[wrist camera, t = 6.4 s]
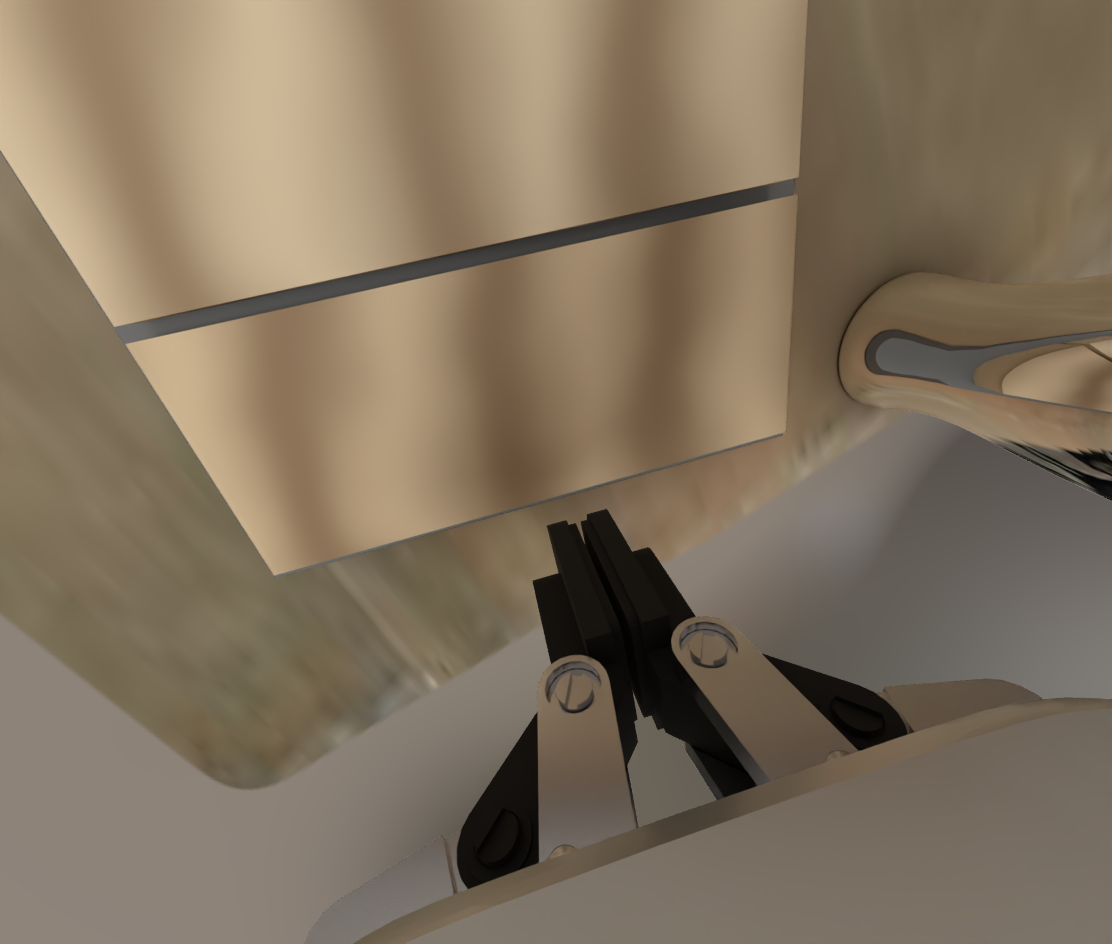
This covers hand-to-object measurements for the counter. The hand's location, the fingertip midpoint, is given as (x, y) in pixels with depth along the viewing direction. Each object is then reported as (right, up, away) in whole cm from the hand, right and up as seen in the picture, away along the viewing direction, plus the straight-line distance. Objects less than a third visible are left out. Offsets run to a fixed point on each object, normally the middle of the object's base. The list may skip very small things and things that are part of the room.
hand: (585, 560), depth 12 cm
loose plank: (-2, +6, +5) cm, 8 cm away
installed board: (-4, +14, +1) cm, 15 cm away
